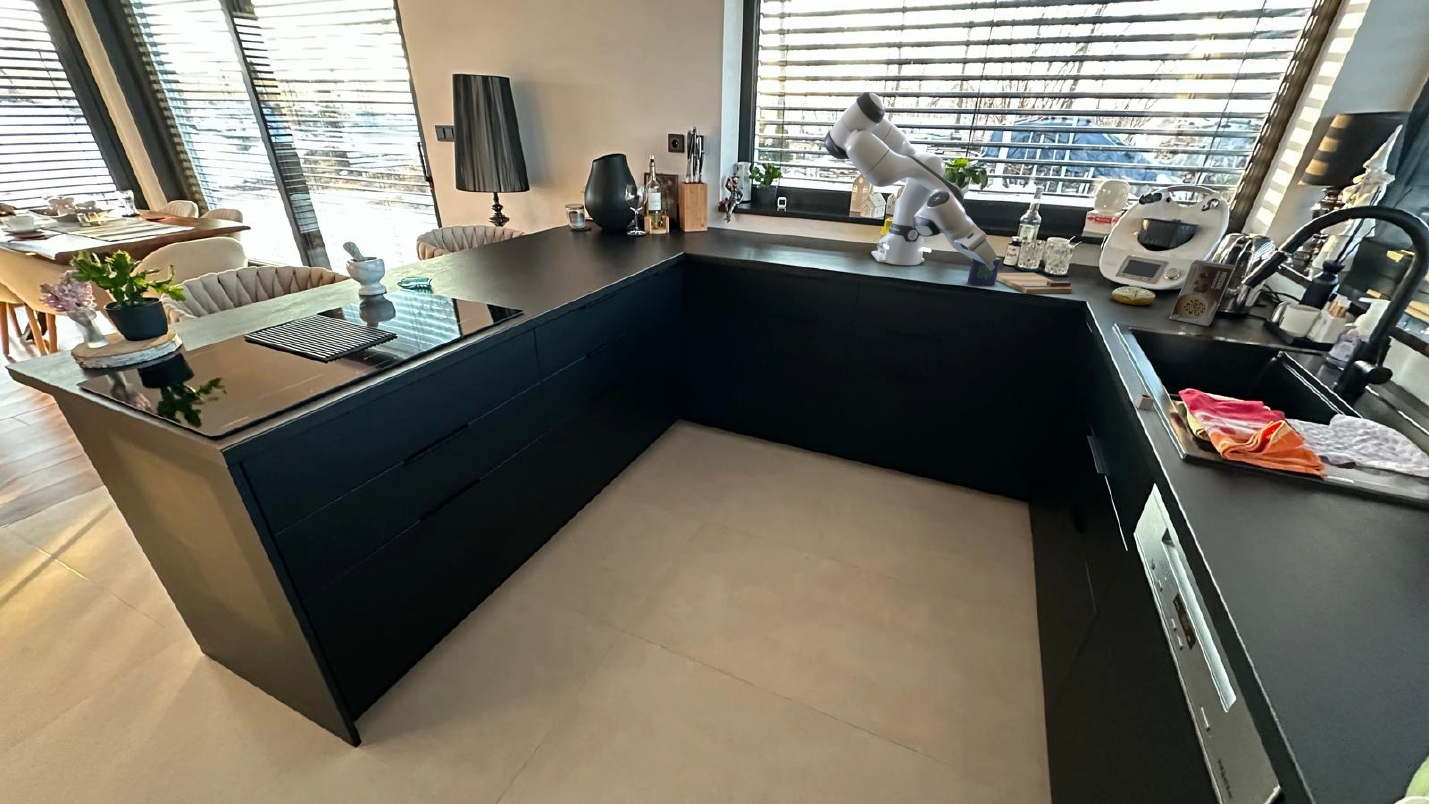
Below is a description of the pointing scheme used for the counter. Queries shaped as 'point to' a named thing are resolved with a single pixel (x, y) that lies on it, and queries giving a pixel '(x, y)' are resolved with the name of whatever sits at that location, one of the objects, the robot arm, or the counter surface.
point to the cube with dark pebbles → (1144, 401)
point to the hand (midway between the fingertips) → (984, 265)
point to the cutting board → (1030, 278)
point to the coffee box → (1202, 292)
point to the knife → (1049, 284)
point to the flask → (983, 273)
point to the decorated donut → (1133, 295)
